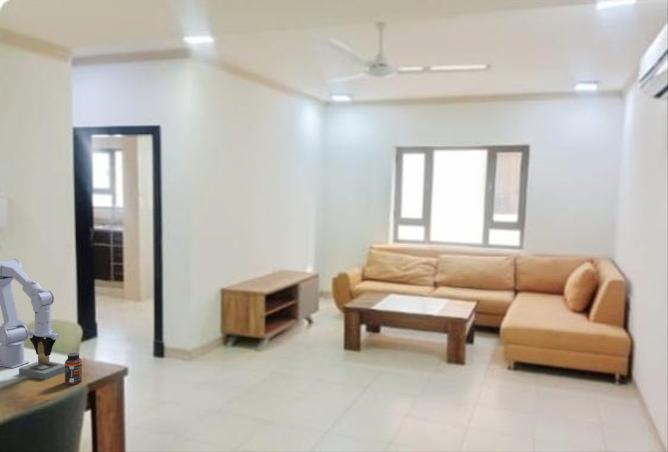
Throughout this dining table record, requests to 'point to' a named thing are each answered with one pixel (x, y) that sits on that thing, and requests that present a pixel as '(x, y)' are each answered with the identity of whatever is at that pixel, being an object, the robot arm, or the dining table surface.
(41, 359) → the peg
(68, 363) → the supplement bottle
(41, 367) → the pad
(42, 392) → the dining table surface
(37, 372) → the board
